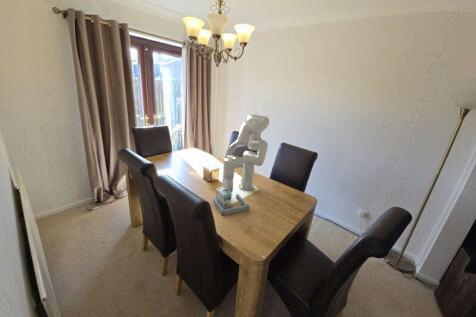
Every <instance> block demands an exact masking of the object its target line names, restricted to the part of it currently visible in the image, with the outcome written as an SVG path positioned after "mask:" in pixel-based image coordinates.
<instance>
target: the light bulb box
mask: <svg viewBox="0 0 476 317" xmlns="http://www.w3.org/2000/svg"><path fill="white" fill-rule="evenodd" d="M232 196H233V191H232V192H230V191H227V190H226V189H225V188H224V187H222V186H220V187H216V189H215V198H216V199H217V201H218V202H219V203H220V205H221V206H222V208H223V209H227V208H230V207H231V206H232V198H233V197H232Z"/></svg>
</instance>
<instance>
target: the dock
mask: <svg viewBox="0 0 476 317" xmlns="http://www.w3.org/2000/svg"><path fill="white" fill-rule="evenodd" d="M235 199H236V200H237V201H238V202H239V203H240V204H241V205H240V206H233V207H228V208H222V206H221V205H220V203H219V202H218V201H217V199H216V197H213V199H212V202H213V204H214V205H215V207H216V208H217V210H218V211H219V213H220V214H221V216H224V215H225V216H226V215H230V214H235V213H239V212H244V211H248V210H249V209H250V205H249V204H248V203H247V202H246V200H244V198H243V197H241V195H240V194H239V193H237V194H236V195H235Z"/></svg>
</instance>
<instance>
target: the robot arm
mask: <svg viewBox="0 0 476 317" xmlns="http://www.w3.org/2000/svg"><path fill="white" fill-rule="evenodd" d="M269 125H270V118H269V117H268V116H266V115H259V114H254V113H253V114H252V113H251V114H249V115H248V116H247V121H244V122H242V124H241V126H240V130H239V133H238V136H237V139H236V140H235V141H234V142H232V144H230V146H229V147H228V149H226V153H225V156H224V159H223V168H222V169H223V170H222V178H221V179H222V180H221V187H224V188H225V189H226V190H227V191H230V192H232V193H233V191H234V177H235V169H237V168H238V169H239V168H241V167H242V174H241V179H240V184H239V185H238V187H239V189H240V190H242V191H245V192H246V191H247V192H250V191H253V190H254V189H255V186H254V184H253V183H254V176H255V166H257V167H261V166H263V164H264V163H265V159H266V154H267V150H268V148H269V147H268V146H269V144H268V142H267V140H265V139H261V136H262V133H263V132H264V131H265V130H266V129H267V128H268V126H269ZM245 146H246V147H247V148H248V149H249V150H245V151H244V152H243V154H242V157H240V156H237V155H234V152H235V150H236V149H238V148H240V147H241V148H242V147H245Z"/></svg>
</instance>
